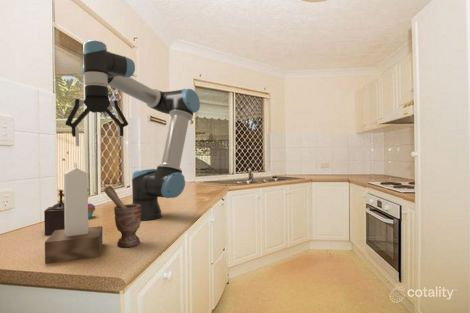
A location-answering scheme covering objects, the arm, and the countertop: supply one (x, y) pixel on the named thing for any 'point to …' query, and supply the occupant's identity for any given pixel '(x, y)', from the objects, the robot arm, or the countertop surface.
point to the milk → (76, 202)
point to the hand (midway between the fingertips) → (99, 145)
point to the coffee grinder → (55, 217)
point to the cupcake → (90, 210)
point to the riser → (73, 245)
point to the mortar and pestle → (125, 219)
